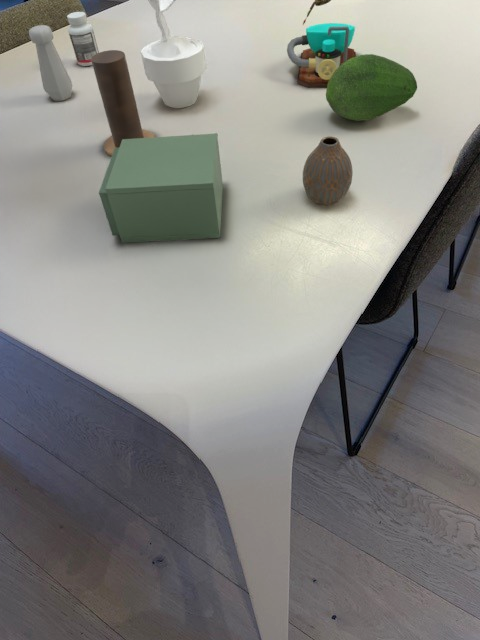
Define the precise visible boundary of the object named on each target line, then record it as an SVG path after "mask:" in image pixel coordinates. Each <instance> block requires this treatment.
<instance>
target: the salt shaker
mask: <svg viewBox="0 0 480 640" xmlns="http://www.w3.org/2000/svg"><path fill="white" fill-rule="evenodd" d="M53 34H54V33H53V30H52V28H51V27H50V26H49V25H46V24H40V25H35V26H33V27H31V28H30V29H29V30H28V35H29V39H30V41H31V43H32V44H35V49H36V55H37V61H38V66H39V70H40V77H41V78H40V79H41V83H42V87H43V90H44V92H45V93H46V95H48V96H49V97H50V98H51V99H52V100H53V101H55V102H62V101H63V102H64V101H66V100H68V99H71V98H72V97H71V96H72V91H73V82H72V79H71V77H70V75H69V73H68V70H67V69H66V67H65V65H64V63H63V60H62V59H61V57H60V54H59V52H58V50H57V48H56V47H55V44H54V42H53V40H54V35H53Z"/></svg>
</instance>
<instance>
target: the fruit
mask: <svg viewBox="0 0 480 640" xmlns="http://www.w3.org/2000/svg"><path fill="white" fill-rule="evenodd" d="M417 90H418V82H417V79H416V77H415V75H414V73H413V72H412V71H411V70H410V69H409V68H407V67H405V66H403V65H402V64H400V63H398V62H396V61H394V60H392V59H389V58H387V57H385V56H381V55H377V54H373V53H369V54H368V53H367V54H359V55H356V57H353V58H350V59H349V60H347V61H346V62H344V63H343V64H341V65H340V66H339V67H338V68H337V69H336V70H335V72H334V73H333V75H332V76H331V78H330V80H329V81H328V85H327V87H326V90H325V100H326V101H327V103H328V106H329V107H330V108H331V109H332V111H333V112H334V113H336V114H337V115H339V116H340V117H342V118H345V119H347V120H351V121H367V120H372V119H376V118H379V117H381V116H384V115H385V114H387V113H389V112H392V111H394V110H395V109H397V108H398V107H401V106H403V105H405V104H406V103H408V101H410V99H412V98H414V95H415V94H416V92H417Z"/></svg>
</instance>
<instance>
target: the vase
mask: <svg viewBox="0 0 480 640" xmlns="http://www.w3.org/2000/svg"><path fill="white" fill-rule="evenodd" d="M352 164H353V163H352V161H351V158H350V156H349V154H348V153H347V151H345V149H344V148H343V146H342V145H341V142H340V140H339V138H338V137H335V136H325V137H322V138H321V139H320V141H319V143H318V145H317V146H316V147H315V148H314V149H313V150H312V151H311V152H310V153H309V155H308V156H307V158H306V160H305V162H304V165H303V168H302V185H303V189H304V191H305V194H306V195H307V197H309V199H311V200H312V201H313V202H315V203H316V204H319V205H324V206H328V205H329V206H330V205H333V204H336V203H338V202H339V201H341V200H342V199H343V198H344V197H345V196H346V195H347V193H348V192H349V190H350V188H351V185H352V181H353V176H354V175H353V172H354V171H353V165H352Z"/></svg>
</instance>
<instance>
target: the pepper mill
mask: <svg viewBox="0 0 480 640" xmlns="http://www.w3.org/2000/svg"><path fill="white" fill-rule="evenodd" d="M91 61H92V65H91V66H92V69H93V72H94V75H95V80H96V83H97V86H98V90H99V94H100V97H101V101H102V104H103V108H104V112H105V115H106V116H105V117H106V119H107V123H108V126H109V127H108V128H109V129H110V133H111V136H112V137H113V141H114V145H115V147H117V148H119V147H120V144H121V142H122V139H135V138H144V136H143V132H142V130H143V128H142V123H141V120H140V115H139V109H138V106H137V101H136V98H135V93H134V89H133V88H134V87H133V84H132V79H131V75H130V70H129V65H128V62H127V57H126V53H125V52H124V51H122V50H118V49H115V50H114V49H109V50H103V51H99V53H97V54H95V55H94V56H92V58H91Z"/></svg>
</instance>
